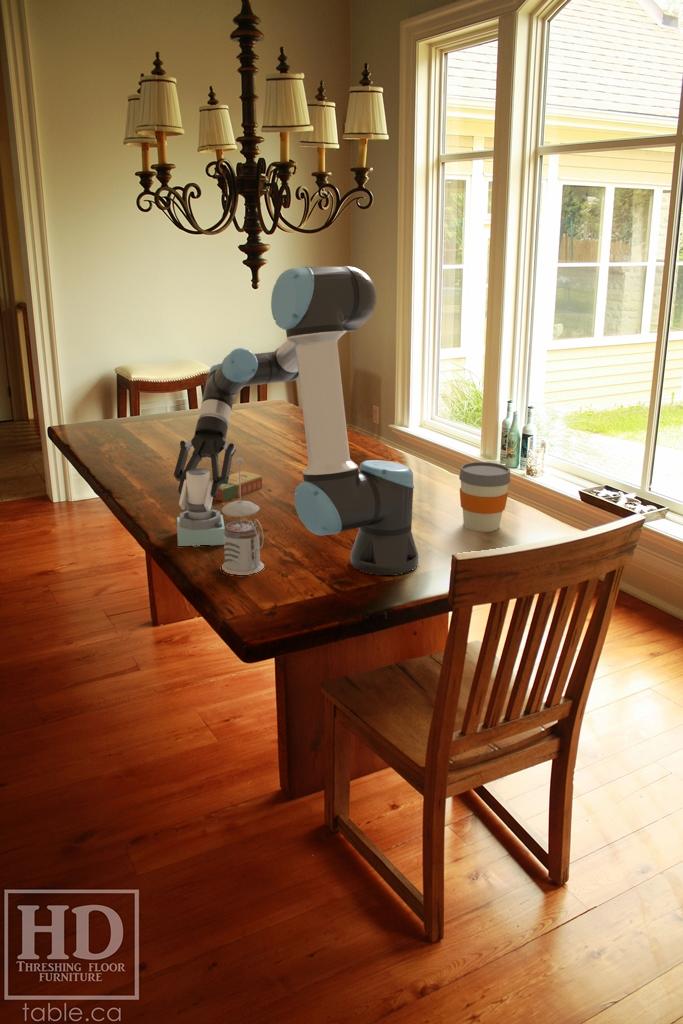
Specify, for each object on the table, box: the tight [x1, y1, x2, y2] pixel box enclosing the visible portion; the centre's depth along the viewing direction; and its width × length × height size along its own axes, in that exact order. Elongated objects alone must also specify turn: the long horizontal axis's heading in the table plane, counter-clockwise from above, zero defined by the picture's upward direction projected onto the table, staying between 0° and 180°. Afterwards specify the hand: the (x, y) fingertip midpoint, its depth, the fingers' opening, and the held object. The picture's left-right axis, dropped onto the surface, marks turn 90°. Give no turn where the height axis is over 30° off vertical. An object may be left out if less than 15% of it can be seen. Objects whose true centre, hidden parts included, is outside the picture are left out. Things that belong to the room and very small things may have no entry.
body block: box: [176, 508, 226, 547], centre depth 201 cm, size 10×11×6 cm
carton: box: [211, 470, 263, 502], centre depth 236 cm, size 8×16×4 cm, turn 143°
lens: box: [186, 468, 213, 520], centre depth 199 cm, size 6×6×11 cm
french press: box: [221, 457, 265, 576], centre depth 181 cm, size 10×12×25 cm
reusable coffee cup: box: [459, 461, 511, 533], centre depth 210 cm, size 13×12×15 cm
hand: (194, 507), depth 196 cm, fingers closed on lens, 5 cm apart
